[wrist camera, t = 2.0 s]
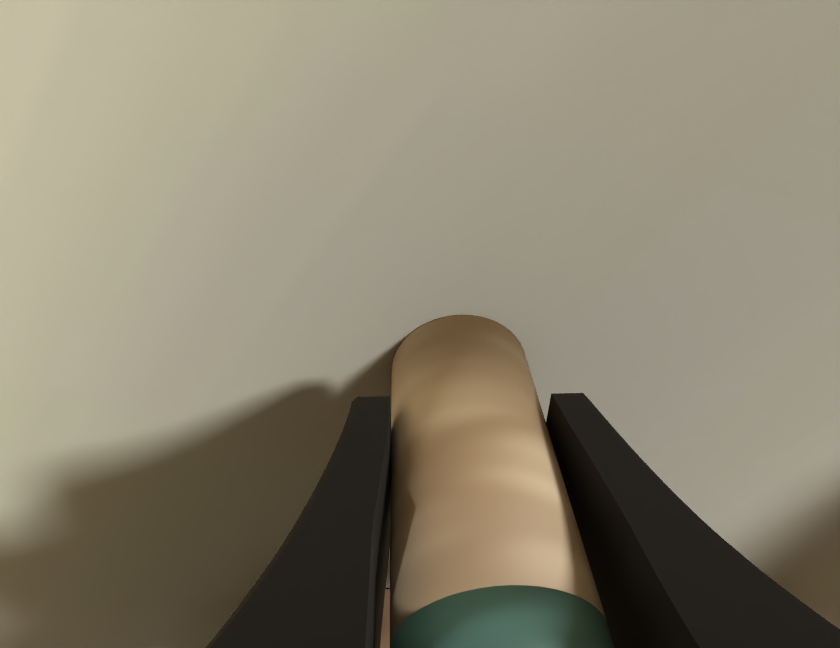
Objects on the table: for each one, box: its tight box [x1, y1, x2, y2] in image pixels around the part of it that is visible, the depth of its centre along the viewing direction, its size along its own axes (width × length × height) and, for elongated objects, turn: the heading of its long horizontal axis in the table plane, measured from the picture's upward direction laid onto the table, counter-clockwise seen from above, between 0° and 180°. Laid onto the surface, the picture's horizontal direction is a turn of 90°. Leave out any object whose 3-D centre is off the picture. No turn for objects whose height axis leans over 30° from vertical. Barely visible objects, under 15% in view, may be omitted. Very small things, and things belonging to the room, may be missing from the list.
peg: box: [390, 315, 615, 648], centre depth 10 cm, size 3×3×7 cm
